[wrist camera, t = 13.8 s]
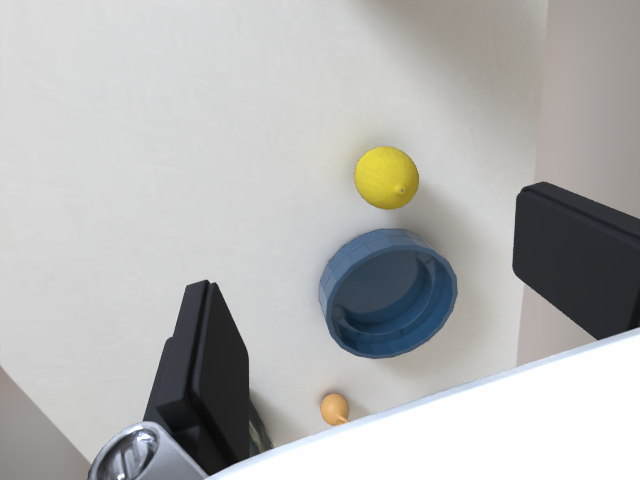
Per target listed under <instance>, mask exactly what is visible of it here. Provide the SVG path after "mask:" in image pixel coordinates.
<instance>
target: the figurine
mask: <svg viewBox="0 0 640 480" xmlns="http://www.w3.org/2000/svg"><path fill="white" fill-rule="evenodd" d="M320 411H321V416H322V418H323V419H324V421H325V422H326V423H328V424H330V425H333V426H339V425H342V424H345V423H348V422H350V421H348V420H347V418H348V415H349V405H348V402H347V400H346V399H345V398H344V397H343V396H342V395H340V394H330V395H328V396H326V397H325V398H324V399H323V401H322V403H321V407H320Z"/></svg>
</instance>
